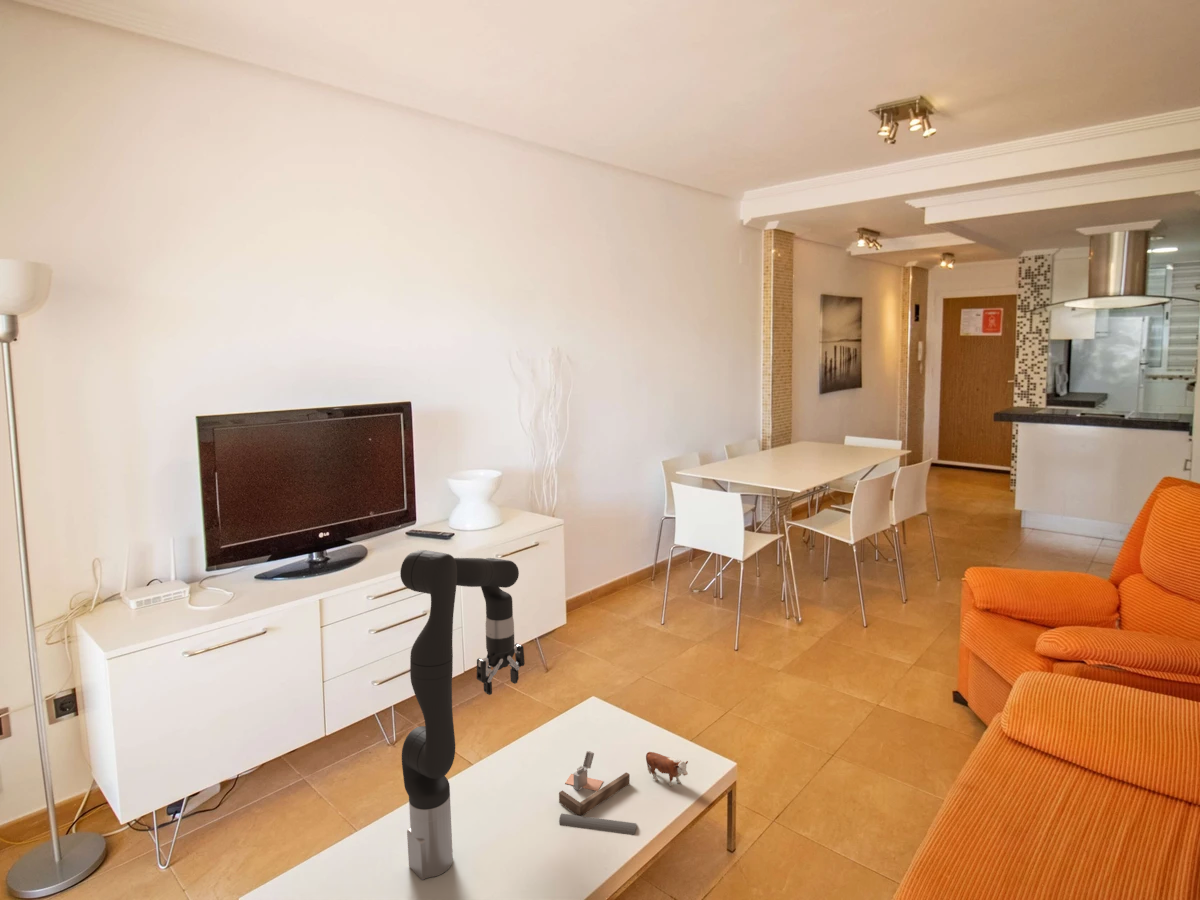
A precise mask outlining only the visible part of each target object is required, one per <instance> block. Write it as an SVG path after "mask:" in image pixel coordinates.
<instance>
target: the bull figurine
mask: <svg viewBox="0 0 1200 900" xmlns="http://www.w3.org/2000/svg"><path fill="white" fill-rule="evenodd" d="M645 761H646V765H647V766H646V767H647V770H648V773H649V774H650V775H652V779H653V780H654V782H658V781H659V779H658V777H657V775H656V774H657V772H656V769H657V771H658V772H660V773H661V774H667V775H668V777H669V781H668V783H667V784H668V785H669V787H673V786H674V784H673V779H674V778H676V780H675V782H676V784H678V785H679V784H681V780H680V778H679V777H680V776H682V775H683V776H684V777H685V776H687V775H688V771H687V765H688V763H689V760H686V761H681V760H680V759H679V758H674V757H669V756H666V755H663V754H661V753H657V752H654V751H648V752H647V753H646V755H645Z"/></svg>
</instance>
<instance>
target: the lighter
mask: <svg viewBox="0 0 1200 900" xmlns="http://www.w3.org/2000/svg"><path fill="white" fill-rule="evenodd" d="M594 755H595V752H594V751H589V750H588V751H586V752H585V756H584V760H583V763H582V764H583V765H580V766H579V767H578V768H576V771H575V772H574V773H573V774H574V786H573V789H575V790H576V791H580V790H581V789H582V787H583V786H585V785H586V784H587V777H588V769H591V768H592V763H593V760H594V757H595V756H594Z"/></svg>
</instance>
